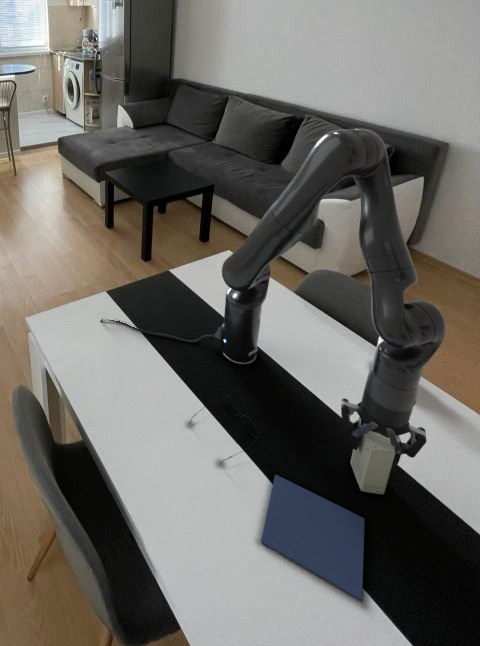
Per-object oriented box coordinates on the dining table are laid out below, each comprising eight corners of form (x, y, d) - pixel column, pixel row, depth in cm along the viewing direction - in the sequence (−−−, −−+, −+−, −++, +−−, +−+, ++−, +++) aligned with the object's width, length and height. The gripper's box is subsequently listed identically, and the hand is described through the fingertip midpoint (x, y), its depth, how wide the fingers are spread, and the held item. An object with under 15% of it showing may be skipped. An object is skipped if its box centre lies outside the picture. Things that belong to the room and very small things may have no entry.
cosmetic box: (384, 495, 86) (397, 454, 81) (359, 491, 87) (371, 451, 82) (371, 464, 91) (383, 424, 87) (348, 460, 92) (358, 421, 88)
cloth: (260, 542, 80) (260, 541, 80) (275, 475, 91) (275, 474, 90) (361, 601, 71) (362, 600, 71) (364, 519, 82) (364, 518, 82)
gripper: (436, 394, 79) (415, 455, 85) (346, 363, 87) (333, 422, 93) (440, 426, 73) (418, 490, 80) (343, 391, 81) (330, 451, 87)
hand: (372, 453), depth 86 cm, fingers closed on cosmetic box, 5 cm apart
